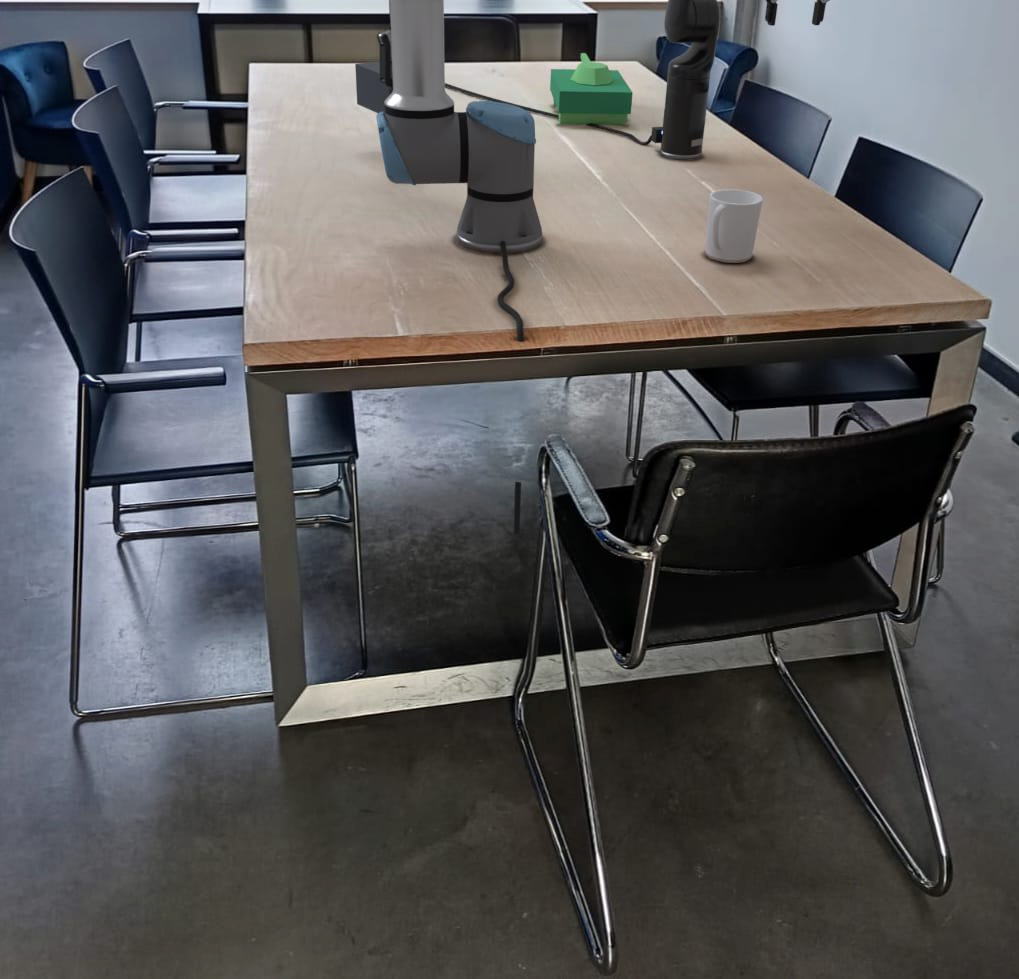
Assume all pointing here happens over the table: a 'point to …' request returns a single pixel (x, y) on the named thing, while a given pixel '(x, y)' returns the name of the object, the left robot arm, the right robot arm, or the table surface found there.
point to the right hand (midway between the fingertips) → (793, 24)
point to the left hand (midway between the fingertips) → (411, 117)
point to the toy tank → (590, 94)
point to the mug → (732, 225)
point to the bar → (370, 87)
